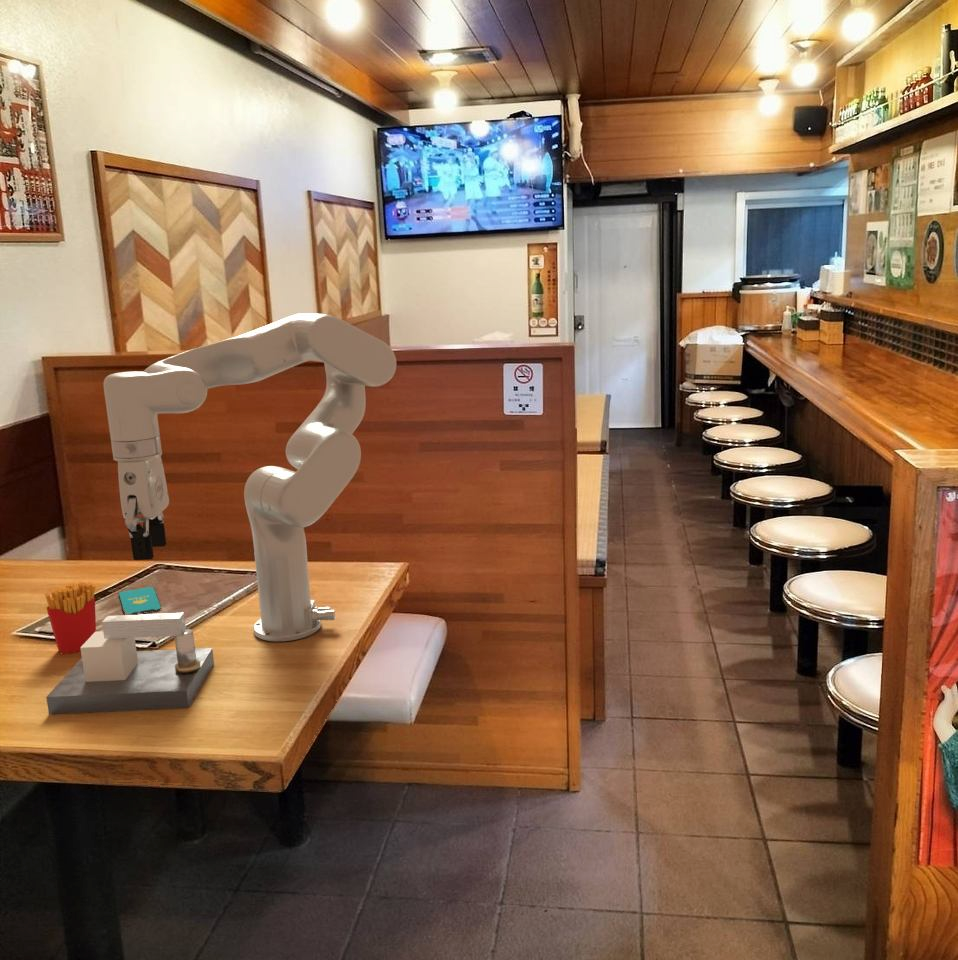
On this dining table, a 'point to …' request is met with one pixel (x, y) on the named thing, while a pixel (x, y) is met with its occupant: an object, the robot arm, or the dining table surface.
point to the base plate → (133, 686)
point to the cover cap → (108, 658)
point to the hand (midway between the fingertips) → (150, 551)
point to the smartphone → (139, 600)
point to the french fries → (72, 615)
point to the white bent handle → (156, 634)
